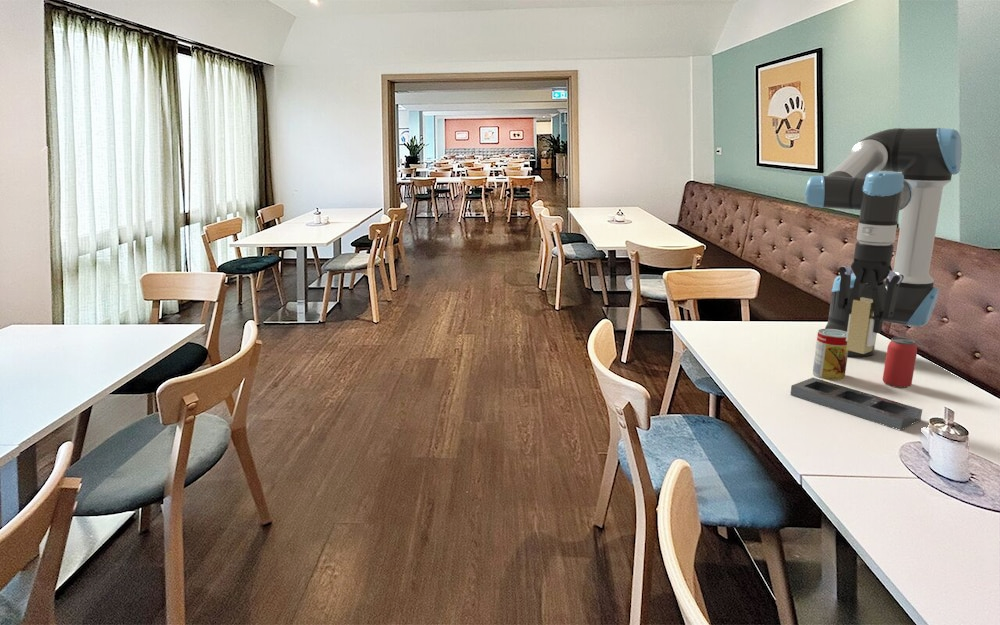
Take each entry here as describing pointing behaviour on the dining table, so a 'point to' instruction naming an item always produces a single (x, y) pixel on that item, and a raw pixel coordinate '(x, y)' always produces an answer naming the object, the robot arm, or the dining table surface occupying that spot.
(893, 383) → the beer can
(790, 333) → the dining table surface
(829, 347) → the canned food
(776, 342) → the dining table surface
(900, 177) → the robot arm
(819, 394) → the grey slotted tray
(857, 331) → the wooden block
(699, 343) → the dining table surface
